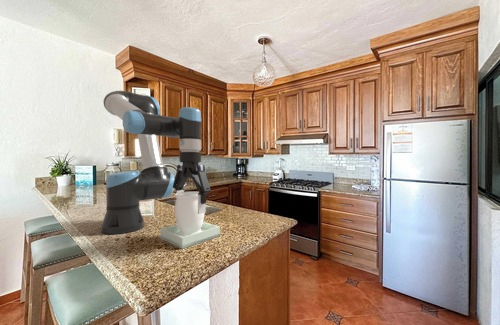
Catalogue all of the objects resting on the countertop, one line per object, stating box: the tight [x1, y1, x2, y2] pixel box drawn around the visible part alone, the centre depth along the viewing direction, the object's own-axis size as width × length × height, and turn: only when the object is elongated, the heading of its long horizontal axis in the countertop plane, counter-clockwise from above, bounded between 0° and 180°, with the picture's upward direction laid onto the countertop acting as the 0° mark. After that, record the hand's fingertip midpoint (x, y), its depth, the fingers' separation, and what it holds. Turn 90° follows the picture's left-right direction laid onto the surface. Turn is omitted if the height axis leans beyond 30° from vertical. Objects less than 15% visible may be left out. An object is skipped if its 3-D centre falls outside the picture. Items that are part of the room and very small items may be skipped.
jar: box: [174, 190, 205, 237], centre depth 79 cm, size 11×10×15 cm
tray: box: [159, 221, 221, 250], centre depth 79 cm, size 14×15×4 cm
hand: (190, 210), depth 79 cm, fingers open, 13 cm apart
